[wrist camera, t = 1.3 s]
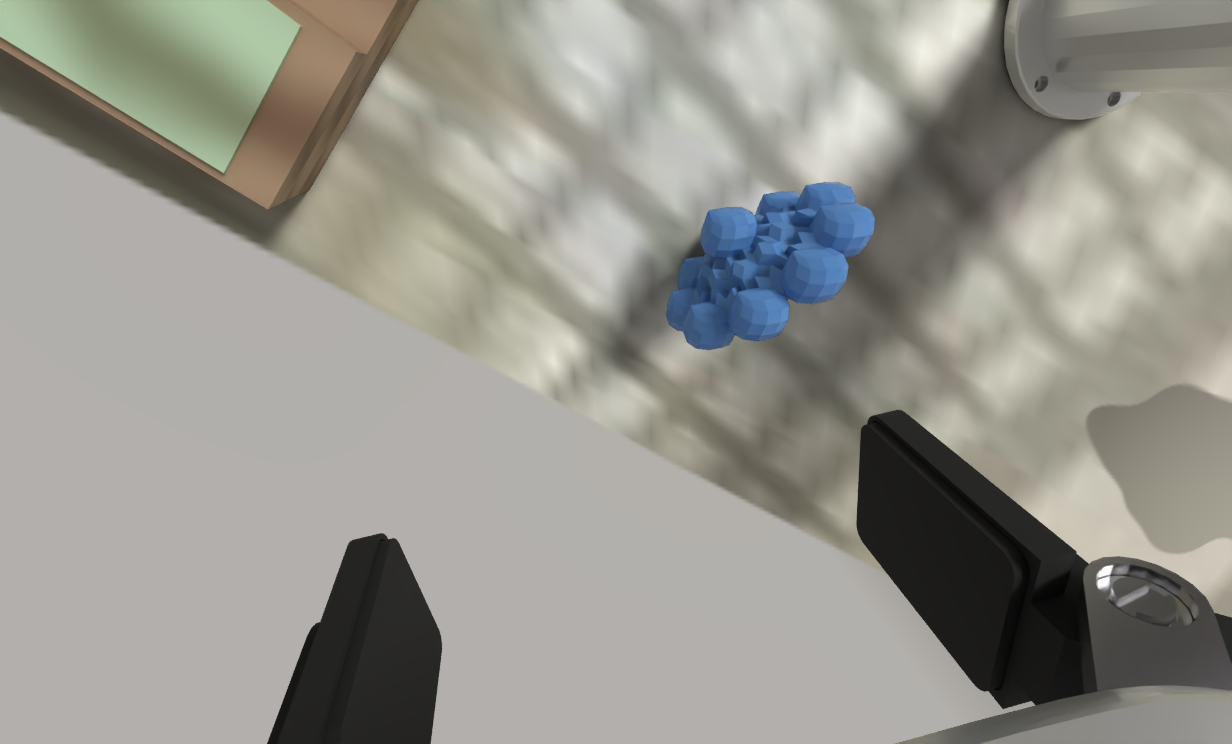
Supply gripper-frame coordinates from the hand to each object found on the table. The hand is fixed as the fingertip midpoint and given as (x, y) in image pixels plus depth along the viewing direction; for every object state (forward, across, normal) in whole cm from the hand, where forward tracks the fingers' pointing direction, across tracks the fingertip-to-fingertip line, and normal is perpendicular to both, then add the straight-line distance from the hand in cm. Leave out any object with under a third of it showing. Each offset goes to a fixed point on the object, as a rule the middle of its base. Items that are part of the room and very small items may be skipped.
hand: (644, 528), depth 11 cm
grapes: (+26, -10, +2) cm, 28 cm away
